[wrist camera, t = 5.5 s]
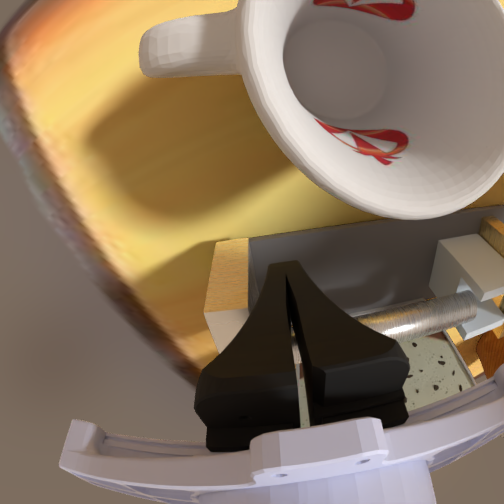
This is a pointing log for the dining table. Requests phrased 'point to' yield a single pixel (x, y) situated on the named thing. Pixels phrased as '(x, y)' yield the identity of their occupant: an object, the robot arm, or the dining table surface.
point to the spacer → (500, 240)
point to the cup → (362, 92)
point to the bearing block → (470, 279)
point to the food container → (417, 369)
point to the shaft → (242, 303)
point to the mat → (369, 256)
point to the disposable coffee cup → (491, 353)
